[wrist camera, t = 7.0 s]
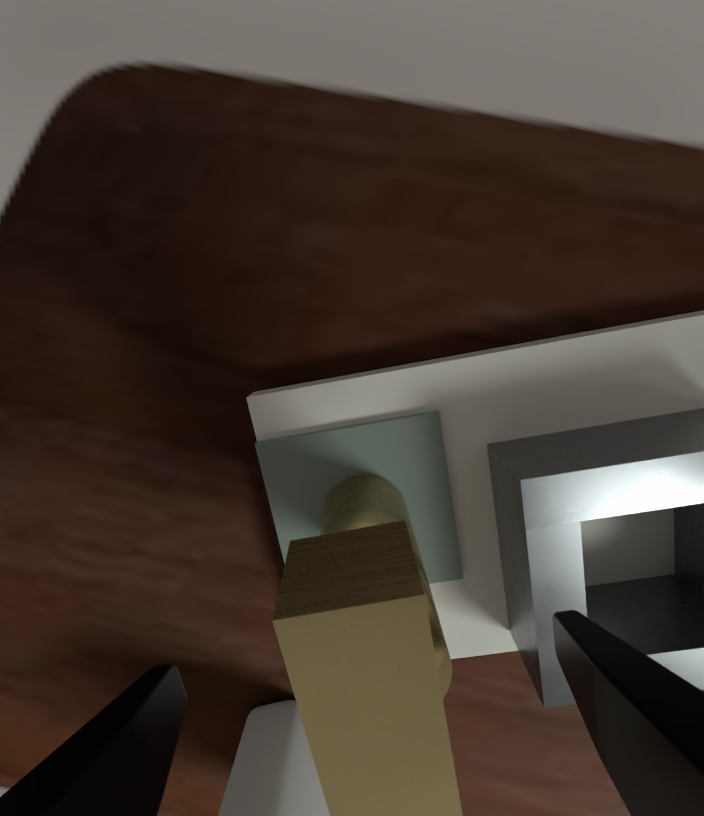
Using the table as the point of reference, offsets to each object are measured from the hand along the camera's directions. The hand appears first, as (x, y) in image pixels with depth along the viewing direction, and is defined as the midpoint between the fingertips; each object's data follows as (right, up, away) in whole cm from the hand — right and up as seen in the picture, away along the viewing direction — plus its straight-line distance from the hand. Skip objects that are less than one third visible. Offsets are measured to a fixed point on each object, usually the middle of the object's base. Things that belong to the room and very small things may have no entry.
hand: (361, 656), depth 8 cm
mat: (0, +1, +6) cm, 6 cm away
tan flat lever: (0, +1, +6) cm, 6 cm away
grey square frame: (+8, +1, +6) cm, 10 cm away
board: (+5, +2, +7) cm, 9 cm away
